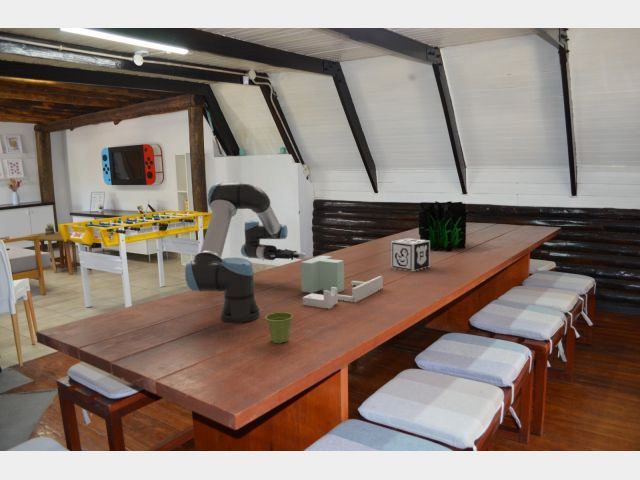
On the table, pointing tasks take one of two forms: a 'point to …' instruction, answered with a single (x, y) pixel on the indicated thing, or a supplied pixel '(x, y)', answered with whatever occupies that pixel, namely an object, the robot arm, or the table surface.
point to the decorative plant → (443, 225)
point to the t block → (322, 274)
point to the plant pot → (279, 326)
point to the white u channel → (363, 289)
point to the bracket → (322, 299)
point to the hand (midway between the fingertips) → (305, 256)
